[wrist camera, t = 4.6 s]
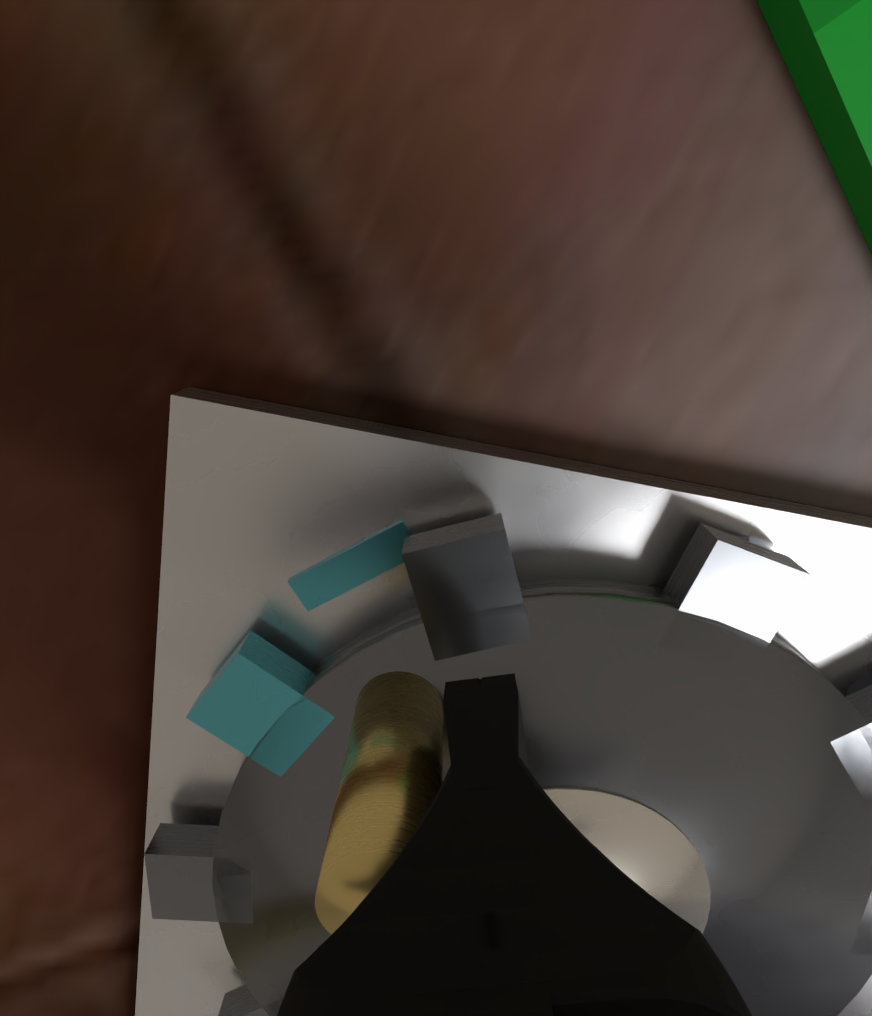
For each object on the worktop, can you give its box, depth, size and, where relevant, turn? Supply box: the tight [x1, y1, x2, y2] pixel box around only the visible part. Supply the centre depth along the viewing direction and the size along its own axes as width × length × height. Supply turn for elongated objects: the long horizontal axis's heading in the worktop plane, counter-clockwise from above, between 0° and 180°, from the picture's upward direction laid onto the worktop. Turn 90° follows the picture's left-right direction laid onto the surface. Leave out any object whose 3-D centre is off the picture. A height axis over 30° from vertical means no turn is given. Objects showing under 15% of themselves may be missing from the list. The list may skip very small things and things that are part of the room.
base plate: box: [135, 387, 872, 1016], centre depth 17 cm, size 20×20×1 cm
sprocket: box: [144, 513, 872, 1016], centre depth 14 cm, size 19×19×5 cm
